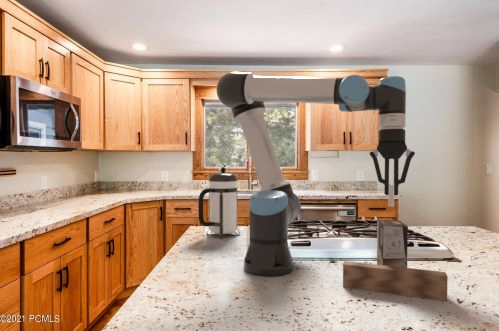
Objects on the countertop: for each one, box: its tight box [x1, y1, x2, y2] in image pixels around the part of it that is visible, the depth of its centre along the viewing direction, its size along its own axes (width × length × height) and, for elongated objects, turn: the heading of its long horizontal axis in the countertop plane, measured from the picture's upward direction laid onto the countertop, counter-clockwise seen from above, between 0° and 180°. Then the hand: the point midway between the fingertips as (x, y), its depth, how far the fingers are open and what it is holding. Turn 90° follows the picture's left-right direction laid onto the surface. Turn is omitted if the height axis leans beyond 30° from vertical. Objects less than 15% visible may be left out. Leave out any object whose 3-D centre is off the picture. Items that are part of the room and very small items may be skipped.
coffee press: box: [197, 166, 241, 239], centre depth 147 cm, size 17×16×30 cm
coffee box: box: [376, 219, 409, 268], centre depth 93 cm, size 9×6×16 cm
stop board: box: [342, 260, 449, 302], centre depth 85 cm, size 24×3×6 cm, turn 68°
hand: (391, 205), depth 103 cm, fingers closed
